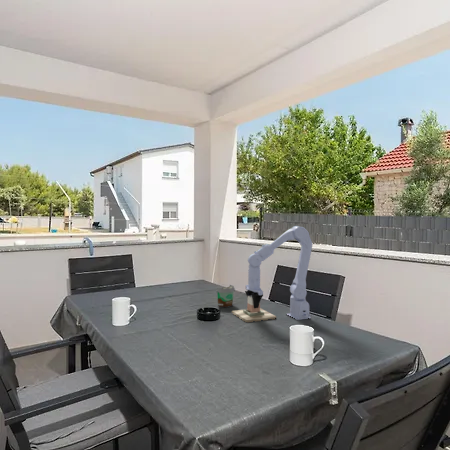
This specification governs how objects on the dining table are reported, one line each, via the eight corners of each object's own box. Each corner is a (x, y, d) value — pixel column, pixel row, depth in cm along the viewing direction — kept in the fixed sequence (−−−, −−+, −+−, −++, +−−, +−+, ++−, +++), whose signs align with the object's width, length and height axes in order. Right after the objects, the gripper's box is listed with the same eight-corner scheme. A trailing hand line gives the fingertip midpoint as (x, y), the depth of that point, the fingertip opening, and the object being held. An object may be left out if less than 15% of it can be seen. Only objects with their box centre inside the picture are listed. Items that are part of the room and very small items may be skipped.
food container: (225, 309, 187) (225, 289, 187) (216, 307, 191) (216, 288, 190) (239, 304, 197) (239, 286, 196) (230, 302, 201) (230, 284, 200)
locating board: (276, 318, 171) (276, 313, 171) (246, 322, 165) (246, 317, 165) (260, 310, 186) (260, 305, 186) (231, 313, 179) (231, 308, 179)
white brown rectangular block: (259, 311, 174) (260, 297, 174) (251, 312, 172) (252, 298, 172) (255, 309, 178) (255, 295, 178) (247, 310, 176) (247, 295, 176)
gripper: (240, 276, 180) (239, 303, 180) (253, 282, 166) (253, 311, 167) (252, 276, 182) (252, 302, 183) (267, 281, 169) (266, 309, 170)
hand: (253, 306), depth 175 cm, fingers closed on white brown rectangular block, 4 cm apart
